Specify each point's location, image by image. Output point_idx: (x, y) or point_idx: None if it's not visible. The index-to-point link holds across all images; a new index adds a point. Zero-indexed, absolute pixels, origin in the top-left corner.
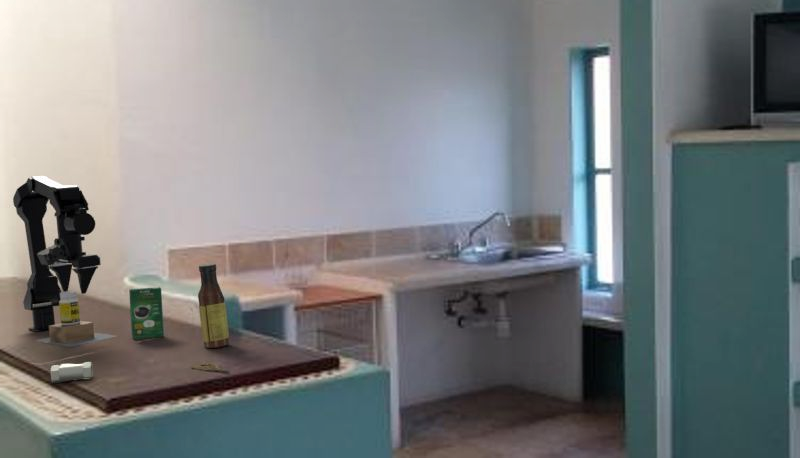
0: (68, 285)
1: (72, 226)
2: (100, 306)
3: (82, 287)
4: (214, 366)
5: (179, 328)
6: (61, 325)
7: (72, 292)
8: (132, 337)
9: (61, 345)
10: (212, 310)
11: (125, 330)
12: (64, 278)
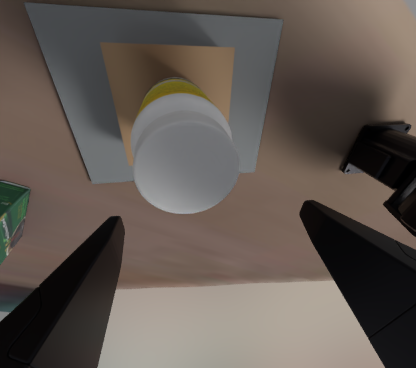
0: (313, 240)
1: None
2: None
3: (81, 248)
4: None
5: None
6: (184, 77)
7: (135, 183)
8: (18, 188)
9: (90, 7)
10: None
11: (170, 220)
12: (358, 267)
